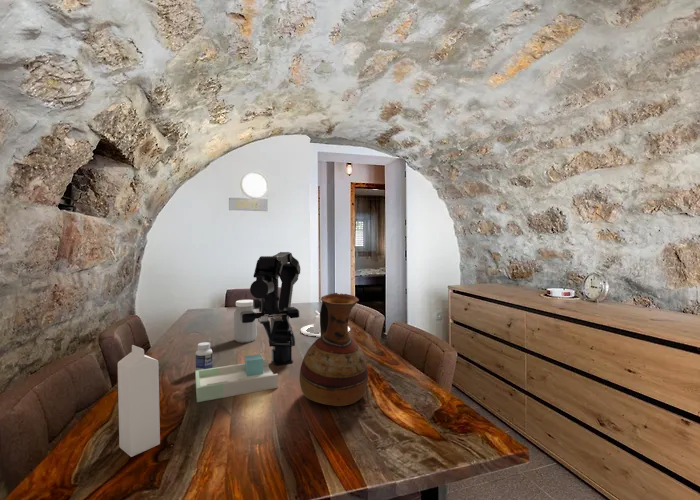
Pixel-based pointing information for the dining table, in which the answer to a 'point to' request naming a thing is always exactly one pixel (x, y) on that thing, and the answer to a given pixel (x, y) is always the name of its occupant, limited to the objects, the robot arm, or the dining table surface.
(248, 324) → the jar
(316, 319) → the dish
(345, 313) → the ceramic pitcher
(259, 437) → the dining table surface
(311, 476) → the dining table surface
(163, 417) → the dining table surface
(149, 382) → the milk
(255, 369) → the block
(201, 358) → the pill bottle
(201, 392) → the box
